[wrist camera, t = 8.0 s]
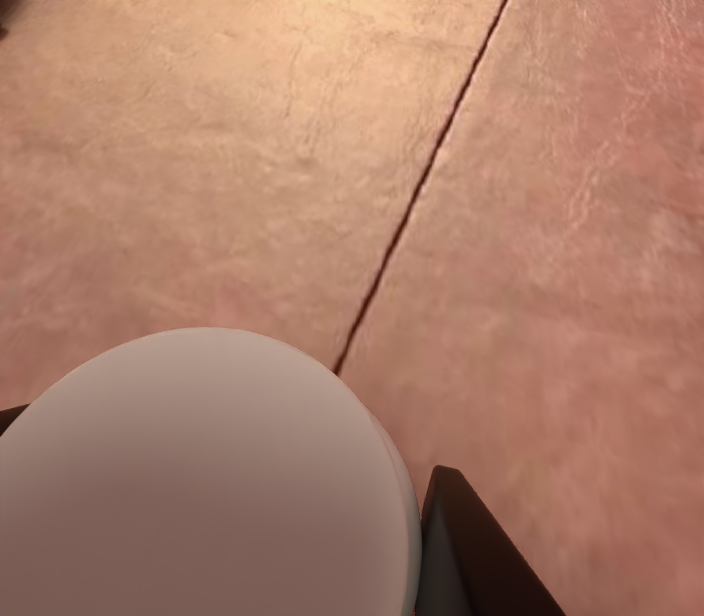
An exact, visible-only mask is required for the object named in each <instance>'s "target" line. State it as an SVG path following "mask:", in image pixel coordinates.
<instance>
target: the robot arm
mask: <svg viewBox="0 0 704 616" xmlns="http://www.w3.org/2000/svg"><path fill="white" fill-rule="evenodd" d="M30 404H31V403H30ZM30 404H27V405H23V406H19V407H15V408H11V409H7V410H3V411H0V437H1V436H2V435H3V433H4V432H5V431H6V430H7V429H8V427H9V426H10V425H11V424H12V423H13V422H14V421H15V420H16V419H17V417H18V416H19V415H20V414H21V413H22V412H23V411H24V410H25V409H26V408H27V407H28V406H29V405H30ZM421 533H422V561H421V571H420V579H419V586H418V593H417V598H416V602H415V616H566V615H565V613H564V612H563V610H562V609H561V608H560V606H559V605H558V604H557V602H556V601H555V600H554V598H553V597H552V596H551V594H550V593H549V591H548V590H547V589H546V587H545V586H544V585H543V583H542V582H541V581H540V579H539V578H538V576H537V575H536V574H535V572H534V571H533V570H532V568H531V567H530V566H529V564H528V563H527V561H526V560H525V559H524V557H523V556H522V555H521V553H520V552H519V551H518V549H517V548H516V546H515V545H514V544H513V542H512V541H511V540H510V538H509V537H508V536H507V534H506V533H505V531H504V530H503V529H502V527H501V526H500V525H499V523H498V522H497V521H496V519H495V518H494V517H493V515H492V514H491V512H490V511H489V510H488V508H487V507H486V506H485V504H484V503H483V502H482V500H481V499H480V497H479V496H478V495H477V493H476V492H475V491H474V489H473V488H472V487H471V485H470V484H469V482H468V481H467V480H466V478H465V477H464V476H463V474H462V473H461V472H460V471H459V470H458V469H454V468H450V467H445V466H441V465H436V466H435V467H434V469H433V471H432V475H431V479H430V482H429V486H428V490H427V494H426V498H425V501H424V506H423V511H422V520H421Z"/></svg>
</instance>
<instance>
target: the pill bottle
mask: <svg viewBox="0 0 704 616" xmlns="http://www.w3.org/2000/svg"><path fill="white" fill-rule="evenodd" d="M421 561H422V533H421V521H420V515H419V508H418V504H417V499H416V495H415V491H414V488H413V485H412V481H411V478H410V475H409V473H408V470H407V468H406V465H405V463H404V461H403V459H402V457H401V455H400V453H399V451H398V449H397V447H396V445H395V444H394V442H393V441H392V439H391V437H390V436H389V434H388V433H387V431H386V430H385V428H384V427H383V426H382V424H381V423H380V422H379V421H378V420H377V418H376V417H375V416H374V415H373V414H372V413H371V412H370V411H369V410H368V409H367V408H366V407H365V405H363V404H362V403H361V401H360V400H359V399H358V397H357V396H356V395H355V394H354V393H353V392H352V391H351V390H350V388H349V387H348V386H347V385H346V384H345V383H344V382H343V381H342V380H341V379H340V378H338V377H337V376H336V375H335V374H334V373H333V372H331V371H330V370H329V369H328V368H326V367H325V366H324V365H323V364H321V363H320V362H319V361H318V360H316V359H314V358H313V357H311V356H310V355H308V354H307V353H305V352H302V351H300V350H299V349H297V348H295V347H294V346H292V345H289V344H287V343H284V342H282V341H279V340H277V339H274V338H271V337H268V336H265V335H261V334H258V333H255V332H251V331H247V330H239V329H232V328H224V327H191V328H179V329H172V330H168V331H164V332H160V333H155V334H151V335H147V336H144V337H142V338H138V339H135V340H132V341H129V342H127V343H124V344H122V345H119V346H117V347H114V348H112V349H109V350H108V351H106V352H104V353H102V354H100V355H98V356H96V357H94V358H92V359H90V360H88V361H87V362H85V363H83V364H81V365H80V366H78V367H77V368H75V369H74V370H73V371H71V372H70V373H68V374H67V375H65V376H64V377H63V378H61V379H60V380H59V381H57V382H56V383H55V384H53V385H52V386H51V387H49V388H48V389H47V390H45V391H44V392H43V393H42V394H41V395H40V396H39V397H38V398H37V399H35V400H34V401H33V402H32V403H31V404H30V405H29V406H28V407H27V408H26V409H25V410H24V411H23V412H22V413H21V414H20V415H19V416H18V417H17V419H16V420H15V421H14V422H13V423H12V424H11V425H10V426H9V427H8V429H7V430H6V431H5V432H4V433H3V435H2V436H1V437H0V616H412V614H413V610H414V606H415V602H416V598H417V593H418V586H419V579H420V571H421Z"/></svg>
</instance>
